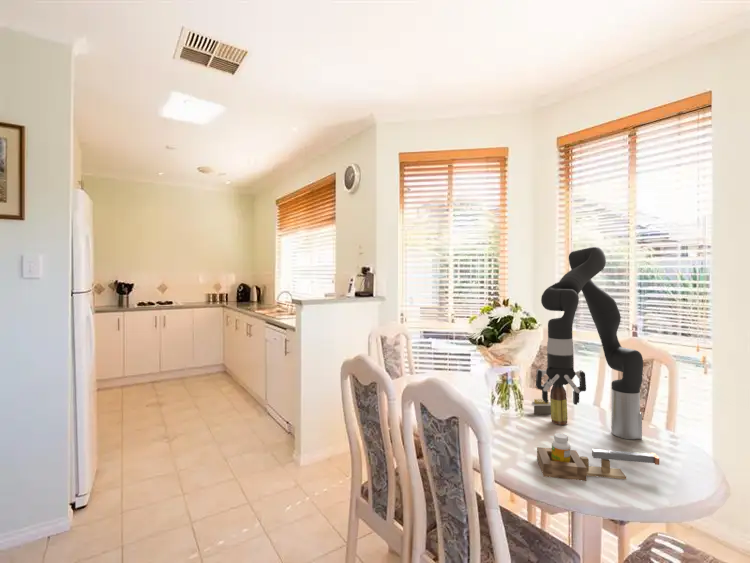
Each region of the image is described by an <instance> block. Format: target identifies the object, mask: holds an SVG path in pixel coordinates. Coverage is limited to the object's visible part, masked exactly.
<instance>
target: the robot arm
mask: <svg viewBox="0 0 750 563" xmlns="http://www.w3.org/2000/svg"><path fill="white" fill-rule="evenodd" d="M606 261H607V260H606V255H605V253H604V251H603V249H602V248H601V247H599V246H591V247H590V246H589V247H586V248H581V249H577V250H573V251H571V252H570V253H569V254H568V263H569V264H568V265H569V267H570V269H571V270H569V271H567V272H566V273H565V274H564V275H563V276H562V277H561V278H560V280H559V281H557V282H555V283H553V284H552V285H550V286H548V287H547V288H546V289H545V290H544V291H543V292H542V295H541V296H540V297H541V300H540V301H541V306H542V307H543V308H544V309H545V310H547V311H552V312H563V315H562V316H561V317H556V318H551V319H549V320H548V322H547V342H546V343H547V344H546V352H547V353H546V356H547V357H546V359H547V360H546V362H547V363H546V364H547V366H546V369H540V368H537V369H536V376H535V379H536V380H535V387H536V389H538V390H541V399H542V402H543V401H544V402H545V403H548V400H549V399H548V398H549V397H548V396H549V395H548V394H549V392H548V390H549V389H550V388H552V387H553V384H556V385H559V384H563V386H567V385H569V386H570V387H571V388H572V390H573V391H572V402H573V405H576V406H577V405H578V404H579V403H580V393H581V392H586V391H587V381H586V372H584V371H583V370H581V369H579V370H578V371H577V370H575V369H574V341H573V340H574V339H573V324H574V320H575V315H576V312H577V309H578V306H579V303H580V302H579V295H580V293H581V292H582V294H583V297H584V299H585V302H586V306H587V307H588V310H589V311H588V312H589V313H590V315H591V318H592V321H593V323H594V324H595V329H596V331H597V333H598V336H599V339H600V343H601V346H602V350H603V354H604V358H605V361H606V364H607V365H608V367H609V368H610V369H612V370H614V371H618V372H621V373H622V377H621V379H614V380H612V382H611V390H610V391H611V392H610V393H611V394H610V395H611V397H610V398H611V401H610V402H611V404H610V405H611V406H610V407H611V411H610V412H611V420H610V421H611V422H610V423H611V424H610V425H611V434H612V435H614V436H615V437H618V438H620V439H625V440H638V439H639V440H641V439H643V413H642V412H641V387H642V384H643V373H644V358H643V355H642V353H641V352H640V351H639V350H636V349H633V348H626V347H622V345H621V343H620V341H619V338H618V329H619V328H620V325H621V320H622V319H621V313H620V310H619V308H618V305H617V302H616V300H615V299H614V297H612V295H610V294H609V293H607V292H606V291H605V290H604V289H602V288H601V287H599V286H598V285H597V284H596V283H595V282H594V281H593V280H592V279H593V278H594V277H595V276H596V275H598V274H599V273H600V272H602V271H603V270H604V268H605V267H606V263H607V262H606ZM545 375H547V377H548V378H547V379H546V380H545V382H544V384H542V380H543V379H542V378H543V377H545ZM575 376H576V377H577V378H578V379H579V380H578V381H579V386H577V385H576V384H575V383H574V381H573V379H574V377H575Z"/></svg>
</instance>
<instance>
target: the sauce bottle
mask: <svg viewBox="0 0 750 563" xmlns="http://www.w3.org/2000/svg"><path fill="white" fill-rule="evenodd" d="M549 397H550V400H549V402H551V414H550V419H551V423H553V424H555V425H558V426H564V425H567V424H568V402H567V401H568V399H567V391H566V389H565V387H564V385H563V384H559V385H556V384H553V385H552V386H551V389H550V396H549Z"/></svg>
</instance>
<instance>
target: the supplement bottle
mask: <svg viewBox="0 0 750 563" xmlns="http://www.w3.org/2000/svg"><path fill="white" fill-rule="evenodd" d="M553 438H554V439H553V440H552V442H551V448H552V459H551V461H558V462H569V463H570V450H571V445H570V443H569V436H568V434H565V433H561V432H556V433H554V435H553Z"/></svg>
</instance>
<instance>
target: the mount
mask: <svg viewBox="0 0 750 563" xmlns="http://www.w3.org/2000/svg"><path fill="white" fill-rule="evenodd" d="M579 456H580V458H581V460H582V461H583V463H584V465H585V466H586V477H596V476H598V477H599V478H600V477H601V478H607V479H616V480H627V475H626V474H625V473H624V472H623V471H622V469H621V468H617V467H615V468H613V467H611V459H601V460H600V464H601V465H600V466H592V465H591V466H590V463H589V462H590V461H589V457H588V456H581V455H579ZM598 477H597V478H598Z"/></svg>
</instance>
